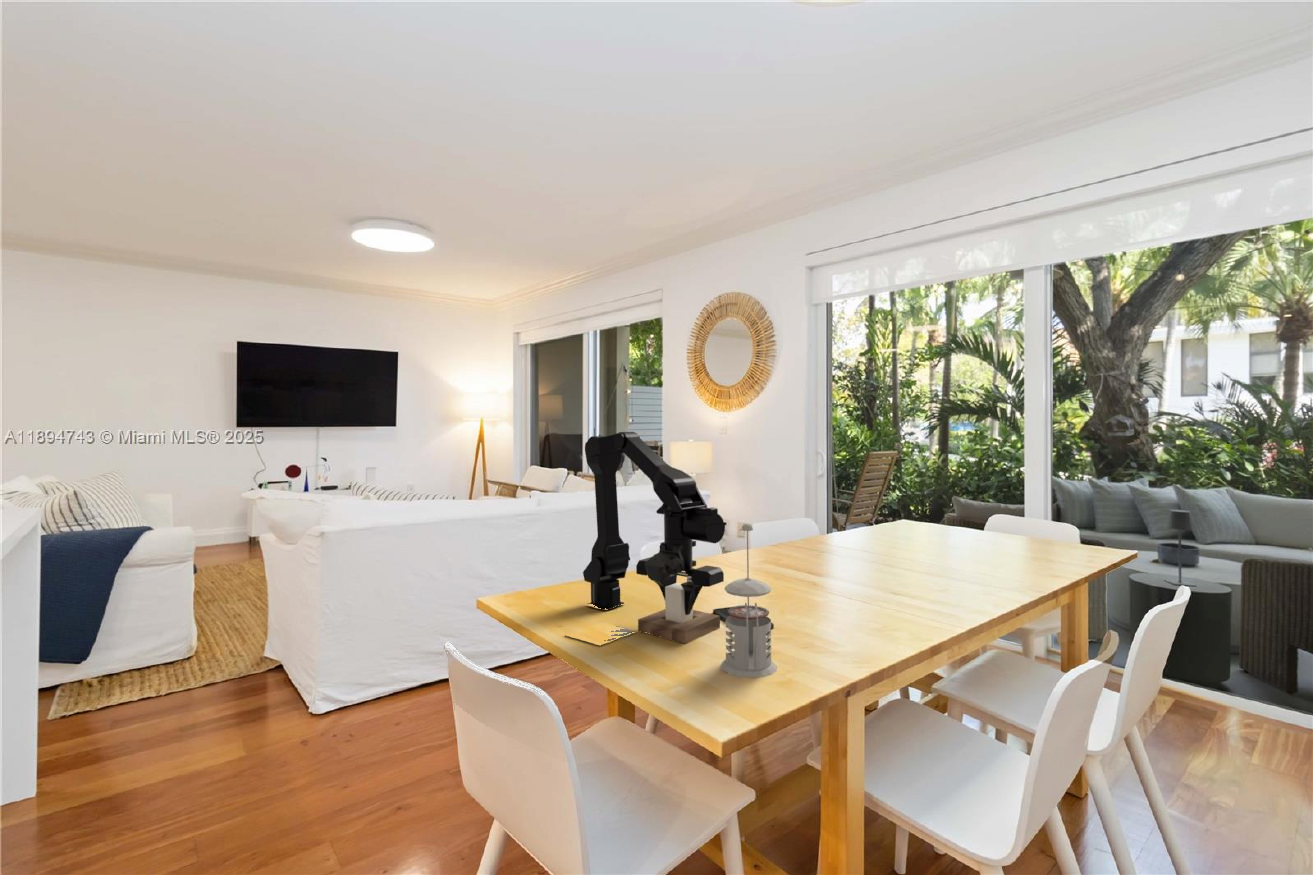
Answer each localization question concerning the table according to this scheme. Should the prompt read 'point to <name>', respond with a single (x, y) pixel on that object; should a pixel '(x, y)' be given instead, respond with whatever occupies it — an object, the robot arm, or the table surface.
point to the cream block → (676, 604)
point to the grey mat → (621, 634)
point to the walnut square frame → (679, 626)
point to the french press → (748, 630)
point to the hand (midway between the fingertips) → (679, 612)
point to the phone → (727, 614)
